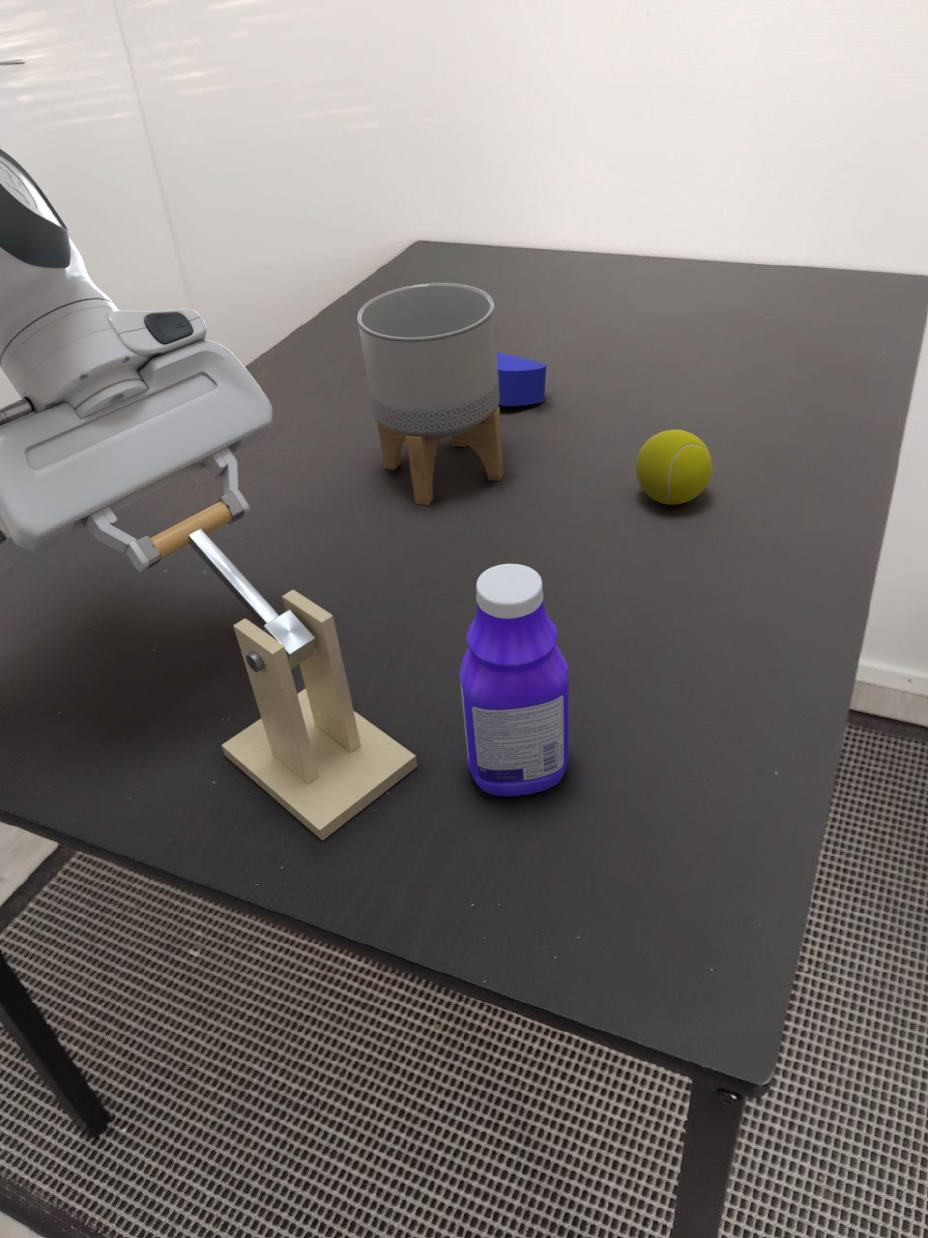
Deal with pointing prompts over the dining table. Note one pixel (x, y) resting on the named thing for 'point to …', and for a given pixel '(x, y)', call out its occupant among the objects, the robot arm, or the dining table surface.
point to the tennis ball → (673, 467)
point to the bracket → (311, 729)
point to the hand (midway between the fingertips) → (197, 540)
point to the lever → (236, 579)
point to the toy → (520, 380)
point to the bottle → (514, 687)
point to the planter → (433, 376)
